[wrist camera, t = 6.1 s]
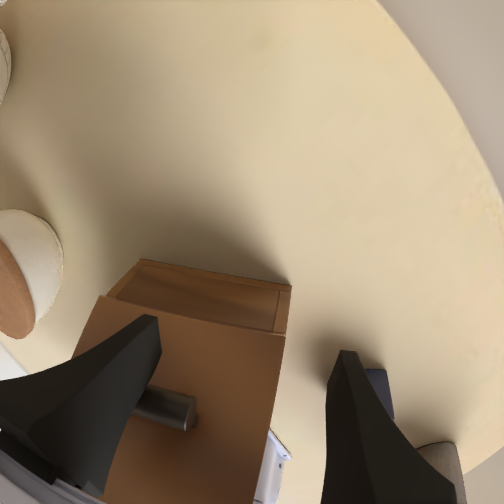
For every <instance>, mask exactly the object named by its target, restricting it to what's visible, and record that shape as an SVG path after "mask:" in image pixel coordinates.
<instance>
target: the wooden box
mask: <svg viewBox="0 0 504 504" xmlns="http://www.w3.org/2000/svg"><path fill="white" fill-rule="evenodd" d="M291 290H292V286H290V285H283V284H277V283H271V282H266V281H260V280H254V279H248V278H242V277H237V276H231V275H225V274H220V273H214V272H208V271H203V270H198V269H192V268H187V267H181V266H176V265H171V264H166V263H160V262H155V261H150V260H145V259H140V260H139V261H138V262H137V263H136V264H135V265H134V266H133V267H132V268H131V269H130V270H129V271H128V272H127V273H126V274H125V275H124V276H123V277H122V278H121V279H120V280H119V281H118V282H117V284H116V285H115V286H114V287H113V288H112V289H111V290H110V291H109V292H108V293H107V294H106V297H107V298H111V299H115V300H118V301H122V302H126V303H129V304H133V305H137V306H141V307H145V308H149V309H153V310H157V311H161V312H165V313H170V314H174V315H178V316H183V317H187V318H192V319H196V320H201V321H205V322H210V323H215V324H220V325H225V326H230V327H235V328H240V329H245V330H251V331H256V332H262V333H268V334H273V335H279V336H286V329H287V322H288V314H289V306H290V298H291Z"/></svg>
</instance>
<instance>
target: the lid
mask: <svg viewBox="0 0 504 504" xmlns="http://www.w3.org/2000/svg"><path fill="white" fill-rule="evenodd" d="M143 314H148V315H152V316H156V317H158V325H159V332H160V340H161V347H162V355H161V357H160V360H159V362H158V365H157V367H156V370H155V372H154V374H153V376H152V378H151V380H150V381H149V383H148V385H147V387H146V388H145V390H144V392H143V394H142V395H141V397H140V399H139V401H138V402H137V404H136V406H135V408H134V409H133V411H132V413H131V415H130V417H129V419H128V421H127V423H126V426H125V428H124V431H123V433H122V436H121V438H120V441H119V444H118V446H117V449H116V452H115V455H114V458H113V461H112V464H111V468H110V471H109V474H108V478H107V482H106V486H105V490H104V495H103V496H100V497H94V496H92V495H90V494H88V493H86V492H84V491H82V492H84V493H86V494H88V495H90V496H92V497H94V498H96V499H98V500H100V501H102V502H104V503H106V504H253V501H254V497H255V492H256V488H257V484H258V479H259V475H260V470H261V466H262V461H263V457H264V452H265V447H266V442H267V437H268V432H269V427H270V422H271V417H272V412H273V407H274V402H275V396H276V391H277V386H278V380H279V374H280V369H281V363H282V357H283V351H284V345H285V339H286V337H285V336H279V335H273V334H268V333H262V332H256V331H251V330H245V329H240V328H235V327H230V326H225V325H220V324H215V323H210V322H205V321H201V320H196V319H192V318H187V317H183V316H178V315H174V314H170V313H165V312H161V311H157V310H153V309H149V308H145V307H141V306H137V305H133V304H129V303H126V302H122V301H118V300H115V299H111V298H107V297H104V296H99V298H98V300H97V302H96V304H95V306H94V308H93V310H92V312H91V315H90V317H89V319H88V321H87V323H86V326H85V328H84V330H83V332H82V335H81V337H80V339H79V341H78V344H77V346H76V348H75V351H74V353H73V356H72V358H71V359H73V358H75V357H77V356H79V355H81V354H83V353H84V352H86V351H88V350H90V349H91V348H93V347H95V346H96V345H98V344H100V343H101V342H103V341H104V340H106V339H108V338H109V337H111V336H112V335H114V334H115V333H116V332H118V331H119V330H121V329H122V328H124V327H125V326H127V325H128V324H130V323H131V322H132V321H134V320H135V319H137V318H138V317H140V316H141V315H143ZM74 488H76V487H74ZM76 489H77V488H76ZM78 490H79V489H78ZM80 491H81V490H80Z"/></svg>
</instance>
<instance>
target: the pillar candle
mask: <svg viewBox="0 0 504 504" xmlns="http://www.w3.org/2000/svg"><path fill="white" fill-rule="evenodd" d="M417 451H418V452H419V454H420V455H421V456H422V457H423V458H424V459H425V460H426V461H427V462H428V463H429V464H430V465H431V466H432V467H434V468H435V469H436V470H437V471H438V472H439V473H441V474H442V475H443V476H444V477H446V478H447V479H448V480H449V481H451V482H452V483H453V484H454V485H455V489H456V494H457V503H458V504H467V501H466V494H465V487H464V481H463V475H462V470H461V466H460V460H459V456H458V452H457V448H456V446H455V445H454V444H452V443H449V442H442V443H435V444H431V445H428V446H425V447H422V448H419V449H417Z"/></svg>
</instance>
